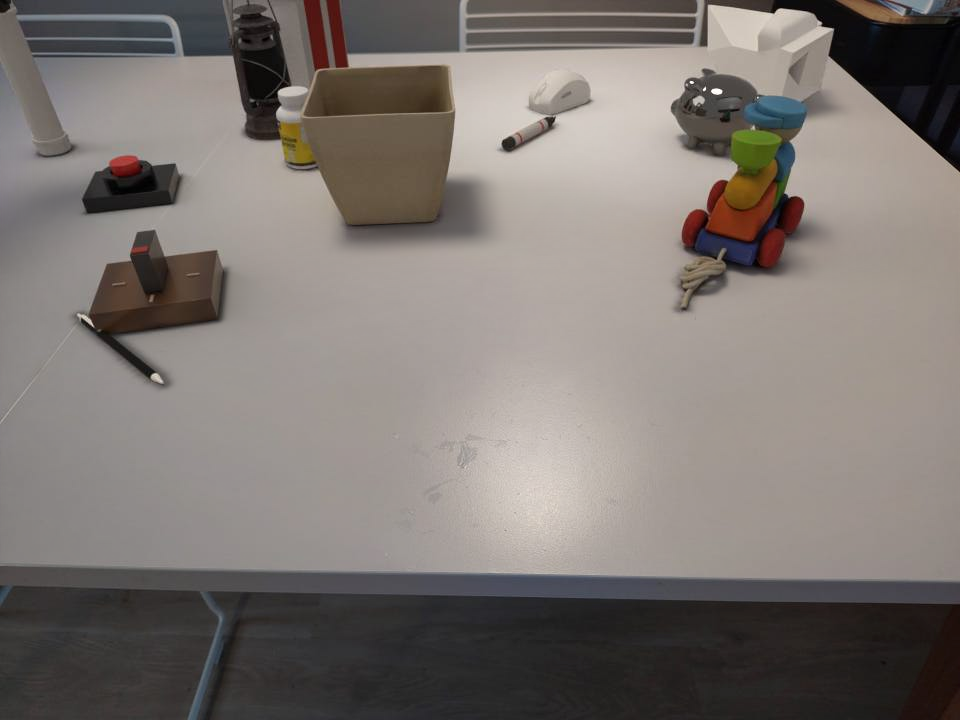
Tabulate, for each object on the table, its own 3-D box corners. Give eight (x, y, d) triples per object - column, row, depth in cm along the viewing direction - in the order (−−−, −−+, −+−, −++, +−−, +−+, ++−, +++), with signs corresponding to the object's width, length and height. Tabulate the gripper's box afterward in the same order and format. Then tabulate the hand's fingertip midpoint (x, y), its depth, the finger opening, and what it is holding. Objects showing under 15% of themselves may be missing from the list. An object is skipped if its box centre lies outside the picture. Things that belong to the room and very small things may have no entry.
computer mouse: (524, 108, 131) (525, 74, 127) (570, 92, 137) (572, 59, 133) (548, 117, 127) (550, 82, 123) (594, 100, 134) (597, 67, 130)
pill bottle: (283, 158, 114) (268, 87, 107) (321, 152, 116) (309, 81, 109) (289, 173, 110) (274, 100, 102) (329, 166, 111) (317, 94, 104)
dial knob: (151, 268, 82) (136, 229, 79) (168, 266, 82) (154, 227, 79) (144, 293, 78) (128, 253, 74) (162, 291, 78) (147, 251, 75)
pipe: (33, 150, 119) (-55, -48, 100) (71, 140, 122) (-8, -54, 103) (43, 159, 116) (-46, -44, 96) (82, 149, 119) (2, -50, 100)
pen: (83, 316, 80) (80, 308, 80) (168, 384, 71) (165, 376, 70) (76, 319, 80) (72, 311, 79) (160, 389, 70) (157, 381, 69)
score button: (110, 178, 101) (106, 167, 100) (115, 167, 104) (111, 156, 103) (139, 175, 101) (135, 164, 100) (143, 164, 104) (139, 153, 103)
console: (98, 336, 77) (87, 313, 75) (115, 284, 85) (106, 262, 83) (217, 319, 79) (210, 296, 77) (223, 270, 87) (216, 248, 85)
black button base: (87, 213, 100) (76, 187, 98) (100, 184, 108) (90, 160, 105) (172, 203, 102) (164, 178, 99) (179, 176, 110) (172, 152, 107)
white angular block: (817, 19, 112) (855, 9, 122) (687, -1, 125) (732, -8, 135) (786, 124, 122) (823, 107, 132) (669, 95, 135) (712, 81, 145)
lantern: (273, 113, 131) (235, -70, 112) (319, 121, 127) (287, -67, 108) (229, 136, 122) (179, -58, 103) (276, 145, 119) (233, -54, 100)
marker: (510, 151, 115) (510, 140, 114) (501, 149, 116) (501, 137, 115) (559, 124, 124) (560, 113, 123) (550, 122, 125) (551, 111, 124)
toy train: (638, 296, 81) (659, 162, 71) (715, 201, 100) (741, 84, 89) (741, 328, 76) (781, 188, 65) (802, 221, 95) (841, 99, 84)
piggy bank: (680, 126, 123) (692, 59, 115) (764, 144, 116) (781, 73, 108) (653, 146, 116) (664, 76, 108) (741, 166, 109) (758, 93, 101)
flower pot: (460, 233, 94) (455, 110, 83) (320, 240, 93) (298, 116, 82) (454, 174, 108) (450, 63, 98) (334, 180, 107) (316, 68, 97)
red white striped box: (352, 78, 147) (333, -69, 129) (319, 106, 133) (293, -53, 116) (281, 74, 150) (254, -70, 132) (242, 101, 136) (206, -55, 119)
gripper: (7, -164, 84) (67, 1, 96) (-128, -160, 82) (-50, 8, 93) (-12, -161, 78) (54, 13, 90) (-159, -157, 76) (-71, 22, 88)
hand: (1, 10), depth 92 cm, fingers closed
